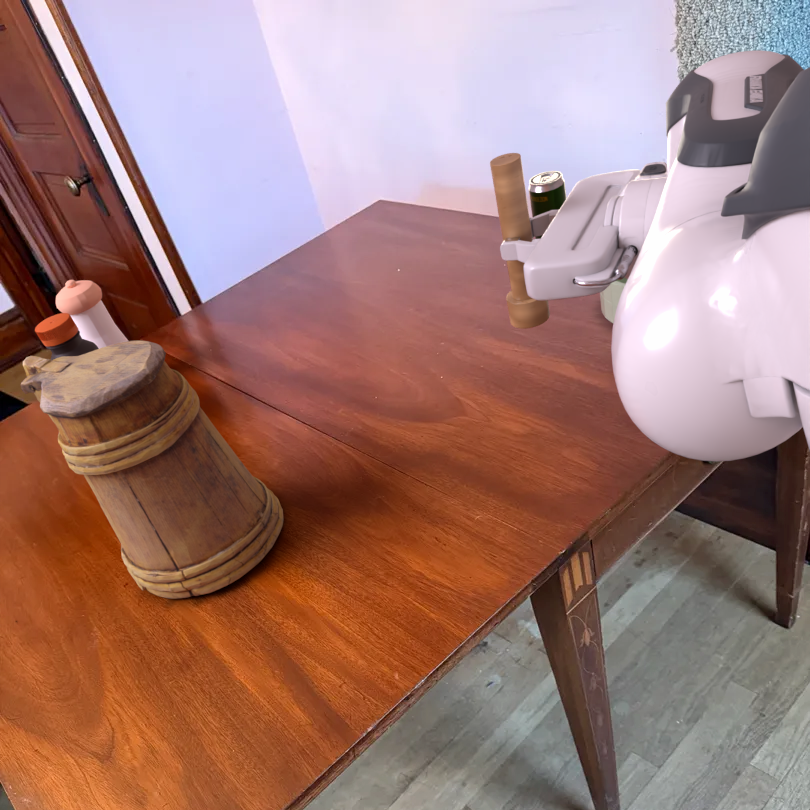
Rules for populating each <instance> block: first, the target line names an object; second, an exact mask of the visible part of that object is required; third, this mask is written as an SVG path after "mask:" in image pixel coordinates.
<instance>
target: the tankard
mask: <svg viewBox="0 0 810 810" xmlns="http://www.w3.org/2000/svg"><path fill="white" fill-rule="evenodd" d="M166 355H167V352H166V351H165V350H164V348H163V347H162V345H160V344H158V343H156V342H153V341H149V340H128V341H127V342H121V343H116V344H113V345H110V346H106V347H103V348H100V349H97V350H94V351H91V352H89V353H86V354H83V355H80V356H64V357H59V358H56V359H54V360H51V358H50V359H49V358H44V357H41V356H37V355H36V356H35V355H30V356H26V357H25V359H24V360H22V367H23V370H24V372H25V376H26V377H25V378H24V379H23V380H22V381H21V382H20V389H21V391H22V392H23V393H24V394H25V395H27V394H29V393H32V394H34V396H35V398H36V399H37V401H38V402H39V408H40V410H41V411H42V412H43V414H46V415H48V417H49V418H50V420H51V421H52V422H53V423H54V425H55V427H56V429H57V430H58V435H57V442H58V445H59V446H60V448H61V453H62V454H63V456H64V460H65V462H66V463H67V465H68V468H69V469H70V470H72V471H73V472H74V473H75V474H77V475H83V477H84V478H85V480H86V482H87V483H88V485H89V487H90V489H91V490H92V492H93V494H94V496H95V498H96V500H97V501H98V504H99V506H100V508H101V510H102V512H103V514H104V515H105V517H106V519H107V521H108V522H109V524H110V526H111V528H112V530H113V532H114V533H115V536H116V537H117V539H118V541H119V543H120V552H121V559H122V561H123V564H124V565H125V567H126V569H127V571H128V573H129V574H130V576H131V577H132V579H133V580H134V581H135V583H136V584H137V586H138V587H139V589H141V591H142V592H144V591H147V592H148V593H150V594H153V595H154V596H157V597H160V598H166V599H172V600H173V599H186V598H191V597H193V596H195V597H198V596H202V595H206V594H207V595H208V594H211V593H213V592H216V591H218V590H221V589H223V588H224V587H227V586H228V585H231V584H232V583H234V582H235V581H237V580H240V579H241V578H242V577H243V576H244V575H246V574H247V573H249V572H250V571H251V570H253V568H255V567H256V566H257V565H258V564H259V563H260V562H262V560H263V559H264V558H265V557H266V555H267V554H268V553H269V552H270V551H271V550H272V548H273V546H274V545H275V543H276V541H277V539H278V537H279V535H280V533H281V530H282V528H283V526H284V520H285V519H284V509H283V508H282V505H281V503H280V500H279V498H278V497H277V496H276V495H275V494H274V491H272V490H271V489H269V488H268V487H267V485H266V484H265V483H264V482H263V481H261V479H259V478H258V477H255V476H253V474H252V472H250V470H248V468H247V467H246V466H245V464H244V462H243V461H242V460H241V459H240V458H239V457H238V455H237V454H236V453H235V451H234V450H233V449H232V447H231V446H230V445H229V443H228V442H227V441H226V439H225V438H224V437H223V436H222V434H221V433H220V431H219V430H218V429H217V427H216V426H215V425H214V424H213V422H212V421H211V419H210V418H209V417H208V415H207V414H206V413H205V411H204V410H203V409H202V408H201V404H200V398H199V396H198V393H197V391H196V390H195V389H194V388H193V387H192V386H191V385H190V383H189V382H188V380H187V379H186V378H185V376H183V375H182V373H180V372H179V371H178V370H176V369H173V368H170V366H169V365H168V363H167V362H166Z"/></svg>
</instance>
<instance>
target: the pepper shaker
mask: <svg viewBox="0 0 810 810" xmlns="http://www.w3.org/2000/svg"><path fill="white" fill-rule="evenodd" d="M64 285H65V286H63V287H62V288H61V289H60V290H59V291H58V293H57V294H56V295H55V306H56V309H58V311H59V312H60V313H68V314H70V316H71V318H72V319H73V321H74V322H75V324H76V326H77V327H78V330H79V331H80V337H81V338H82V339H85V340H88V341H91V342H93V343H95V344H96V345H97V347H98V348H99V349H100V348H103V347H106V346H110V345H113V344H116V343H121V342H127V341H129V340H128V338H127V336H125V334H124V333H123V332H122V331H121V329H120V328H119V327H118V325H117V324H116V323H115V321H114V319H113V318H112V316H111V315H110V313H109V311H108V309H107V308H106V305H105V304H104V302H103V301H102V299H103V291H102V288H101V287H100V286H99V285H98V284H97V283H96V282H94V281H93V280H90V279H89V280H88V279H87V280H85V279H83V280H74V279H69V280H66V282H65V284H64Z"/></svg>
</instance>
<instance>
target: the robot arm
mask: <svg viewBox="0 0 810 810" xmlns="http://www.w3.org/2000/svg"><path fill="white" fill-rule="evenodd" d="M665 130H666V131H665V132H666V137H667V152H666V154H667V155H666V162H665V161H654V162H648V163H646V164H644V166H643V167H642V168H641V170H640V169H636V168H635V169H633V168H632V169H624V170H617V171H616V170H615V171H611V172H605V173H599V174H594V175H591V176H588V177H585V178H583V179H580V180H579V181H577V182H576V183H575V185H574V186H573V187H572V189H571V191H570V192H569V194H568V195H567V196H566V198H567V199H566V200H565V202H564V203H563V205H562V206H561V208H560V209H558V210H551V211H548V212H545V213H543V214H540V215H537V216H535V217H532V216H531V217H530V224H531V231H532V238H533V240H532V242H528V241H521V238H520V237H513V238H506V239H505V240H504V242H503V241H502V242H501V244H500V247H499V252H500V258H501V259H502V260H503V261H505V262H506V261H512V260H518V261H521V262H523V263H525V264H524V277H525V284H526V289H527V294H528V296H529V297H531V298H533V299H535V300H538V301H546V300H548V301H557V300H568V299H575V298H583V297H588V296H594V295H597V294H600V292H602V291H604V290H605V289H606V288H607V287H608V286H609V285H610V284H611V283H612V282H615V281H616V280H621V279H623V278H624V277H625V278H626V279H628V280H627V282H626V284H625V286H624V289H623V291H622V293H621V296H620V299H619V302H618V305H617V309H616V314H615V318H614V323H612V329H611V330H612V331H611V347H610V348H611V349H610V351H611V364H612V373H613V378H614V381H615V382H614V383H615V385H616V389H617V392H618V395H619V399H620V401H621V403H622V407H623V408H624V410H625V412H626V413H627V415H628V417H629V418H630V420H631V421H632V422H633V424H634V425H635V426H636V427H637V428H638V430H640V432H641V433H642V434H643V435H644V436H646V437H647V439H649V440H650V441H651V442H653V443H654V444H656V445H657V446H659V447H660V448H663V449H664V450H666V451H668V452H671V453H673V454H674V455H678V456H680V457H684V458H687V459H691V460H696V461H701V462H703V461H704V462H731V461H736V460H743V459H746V458H750V457H754V456H757V455H761V454H763V453H765V452H767V451H770V450H772V449H774V448H775V447H778V446H779V445H781V444H782V443H784V442H786V441H787V440H789V439H790V438H792V436H794V435H795V434H796V433H798V432H799V431H800V430H801V429H802V428H803V432H804V435H805V440H806V443H807V447H808V449H809V451H810V66H809V67H807V68H805V69H804V68H803V67H802V66H801V65H800V64H799V63H798V62H797V61H796V60H795V59H794V58H793V57H791V56H790V55H788V54H781V53H778V52H775V51H771V50H761V49H760V50H759V49H758V50H755V49H753V50H744V51H736V52H732V53H728V54H724V55H721V56H718V57H715V58H713V59H711V60H708V61H707V62H705V63H703V64H701V65H700V66H698V67H696V68H694V69H691V70H690V71H689V72H688V73H687V74H686V75H685V76H684V78H682V80H681V81H680V82H679V83H678V85H677V86H676V87H675V88H674V90H672V92H671V94H670V96H669V97H668V99H667V101H666V102H665ZM541 235H543V236H542V237H541V239H535V237H536V236H541Z"/></svg>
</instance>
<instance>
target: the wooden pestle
mask: <svg viewBox="0 0 810 810" xmlns="http://www.w3.org/2000/svg"><path fill="white" fill-rule="evenodd" d="M489 167H490V173H491V178H492V184H493V190H494V191H493V192H494V197H495V202H496V208H497V215H498V221H499V226H500V233H501V237H502V243H503V242H504V240H505V239H506V238H513V237H520V238H521V241H528V242H532V240H533V239H534V237H533V238H532V231H531V224H530V218H531V217H530V211H529V205H528V204H529V203H528V197H527V190H526V182H525V175H524V168H523V162H522V155H521V153H518V152H508V153H504V154H503V153H502V154H500V155H498V156H496V157H494V158H492V159H491V160H490V162H489ZM505 262H506V267H507V273H508V280H509V285H510V291H509V292H508V293H507V294H506V297H505V301H506V307H507V311H508V317H509V322H510V323H509V324H510V325H511V326H512V327H514V328H516V329H522V330H524V329H525V330H526V329H533V328H536V327H538V326H541V325H543V324H545V323H546V322H547V321H548V320H549V318H550V316H551V312H550V305H549V300H546V301H538V300H535V299H533V298H531V297H529V296H528V294H527V289H526V284H525V277H524V264H525V263H523V262H521V261H518V260H512V261H505Z"/></svg>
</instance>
